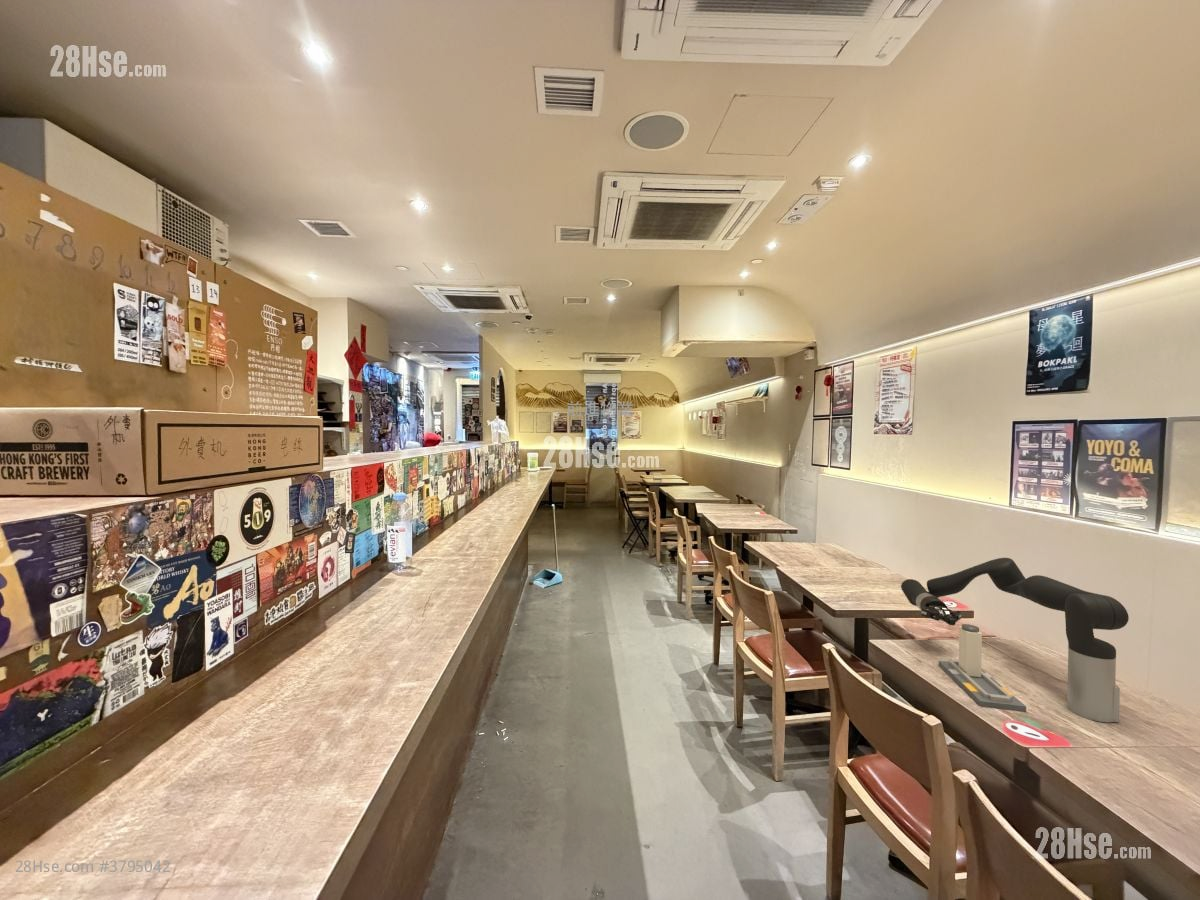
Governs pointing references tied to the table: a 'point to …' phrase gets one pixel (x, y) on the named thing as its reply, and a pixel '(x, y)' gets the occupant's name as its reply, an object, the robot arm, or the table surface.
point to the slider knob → (970, 650)
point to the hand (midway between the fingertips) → (952, 622)
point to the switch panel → (982, 688)
